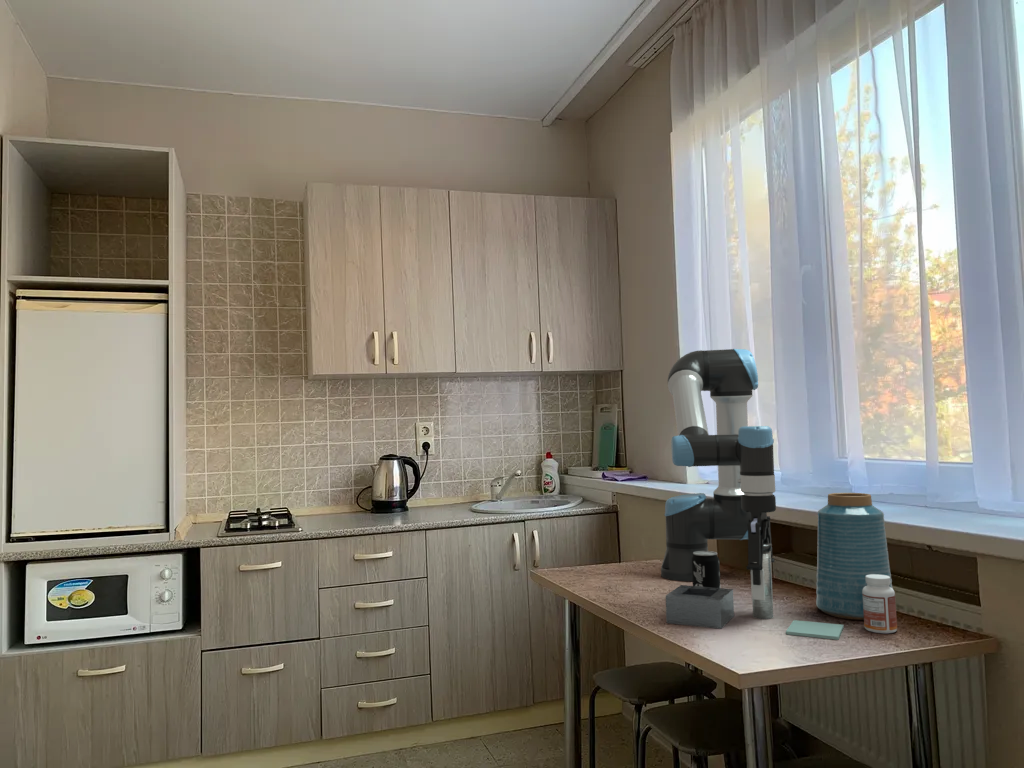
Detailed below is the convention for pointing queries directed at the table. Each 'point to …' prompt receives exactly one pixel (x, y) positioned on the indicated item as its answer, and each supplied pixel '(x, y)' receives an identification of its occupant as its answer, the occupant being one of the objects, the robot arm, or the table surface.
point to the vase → (849, 553)
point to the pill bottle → (879, 605)
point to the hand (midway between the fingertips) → (762, 595)
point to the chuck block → (700, 606)
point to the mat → (815, 629)
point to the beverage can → (705, 569)
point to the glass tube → (765, 607)
